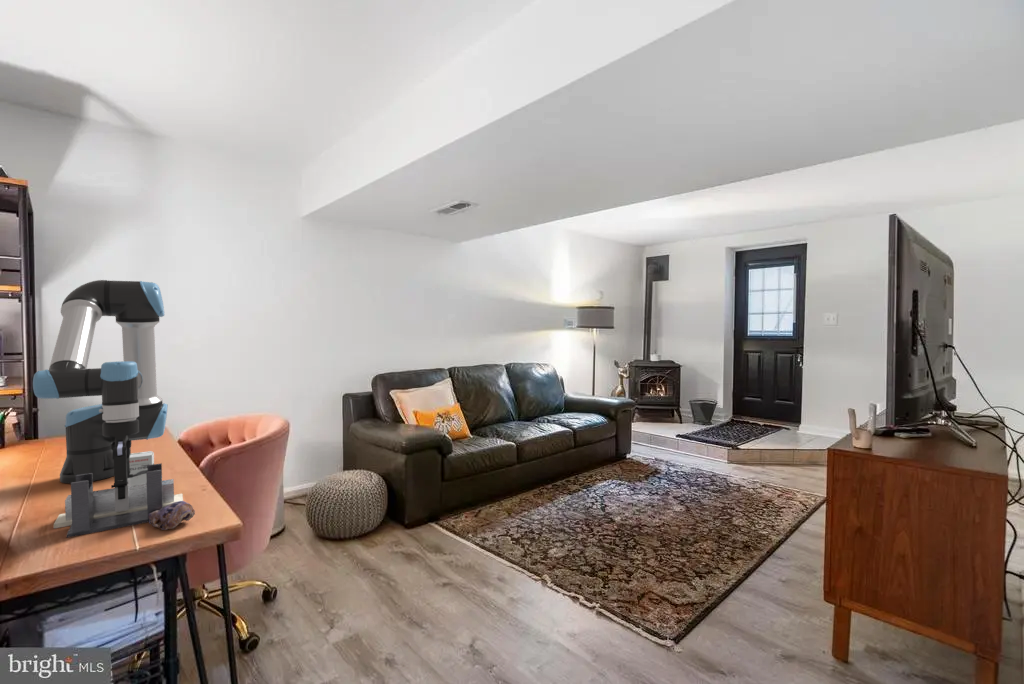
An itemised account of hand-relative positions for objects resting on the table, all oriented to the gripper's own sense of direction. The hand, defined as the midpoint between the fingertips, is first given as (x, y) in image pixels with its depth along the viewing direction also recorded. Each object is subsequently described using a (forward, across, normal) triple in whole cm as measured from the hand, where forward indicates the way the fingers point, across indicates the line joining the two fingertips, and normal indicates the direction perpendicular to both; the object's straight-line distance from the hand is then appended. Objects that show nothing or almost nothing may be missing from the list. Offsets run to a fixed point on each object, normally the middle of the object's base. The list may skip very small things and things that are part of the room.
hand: (123, 506), depth 127 cm
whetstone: (0, 0, 0) cm, 0 cm away
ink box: (+1, -16, +2) cm, 16 cm away
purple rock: (+2, +18, +10) cm, 20 cm away
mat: (+1, 0, 0) cm, 1 cm away
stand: (+1, +8, 0) cm, 9 cm away
